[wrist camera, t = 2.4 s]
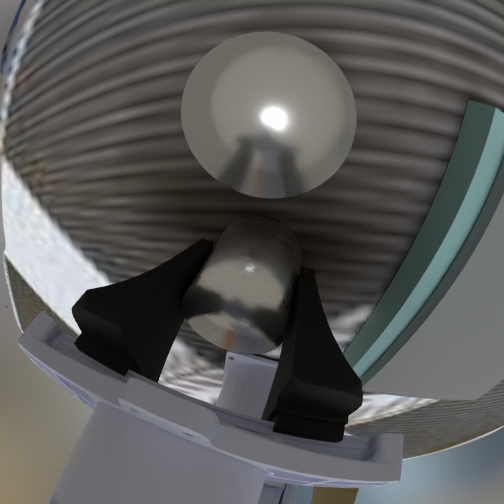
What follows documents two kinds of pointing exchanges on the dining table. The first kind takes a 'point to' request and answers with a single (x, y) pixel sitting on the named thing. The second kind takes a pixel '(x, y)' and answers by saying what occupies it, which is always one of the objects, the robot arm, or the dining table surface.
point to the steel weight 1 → (268, 114)
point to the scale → (436, 234)
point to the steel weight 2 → (246, 287)
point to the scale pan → (455, 323)
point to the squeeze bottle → (333, 495)
